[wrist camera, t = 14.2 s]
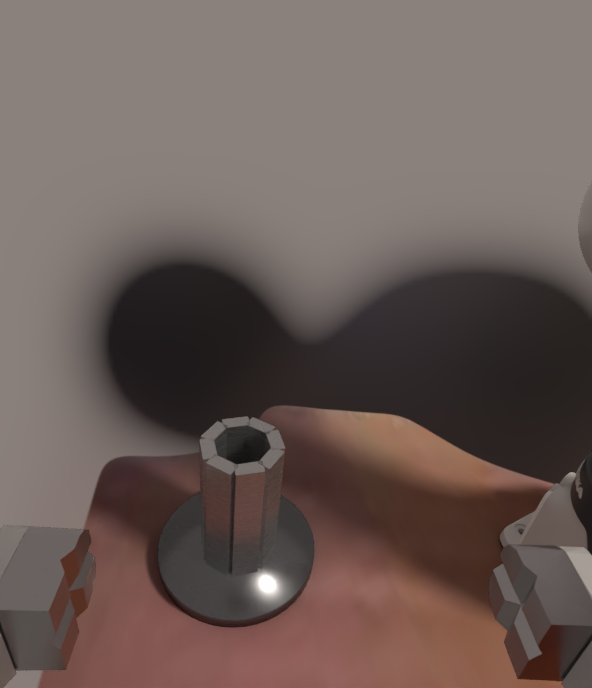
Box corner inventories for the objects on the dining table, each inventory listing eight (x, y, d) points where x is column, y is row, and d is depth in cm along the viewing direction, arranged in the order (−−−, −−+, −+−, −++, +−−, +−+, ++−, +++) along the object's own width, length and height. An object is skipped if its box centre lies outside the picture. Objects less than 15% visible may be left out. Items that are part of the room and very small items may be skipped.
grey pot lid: (252, 472, 55) (254, 436, 52) (344, 563, 46) (352, 525, 43) (130, 539, 46) (125, 500, 44) (215, 665, 38) (216, 626, 35)
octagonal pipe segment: (264, 509, 49) (272, 413, 43) (281, 567, 44) (292, 467, 38) (198, 520, 47) (196, 422, 41) (207, 582, 42) (206, 479, 36)
